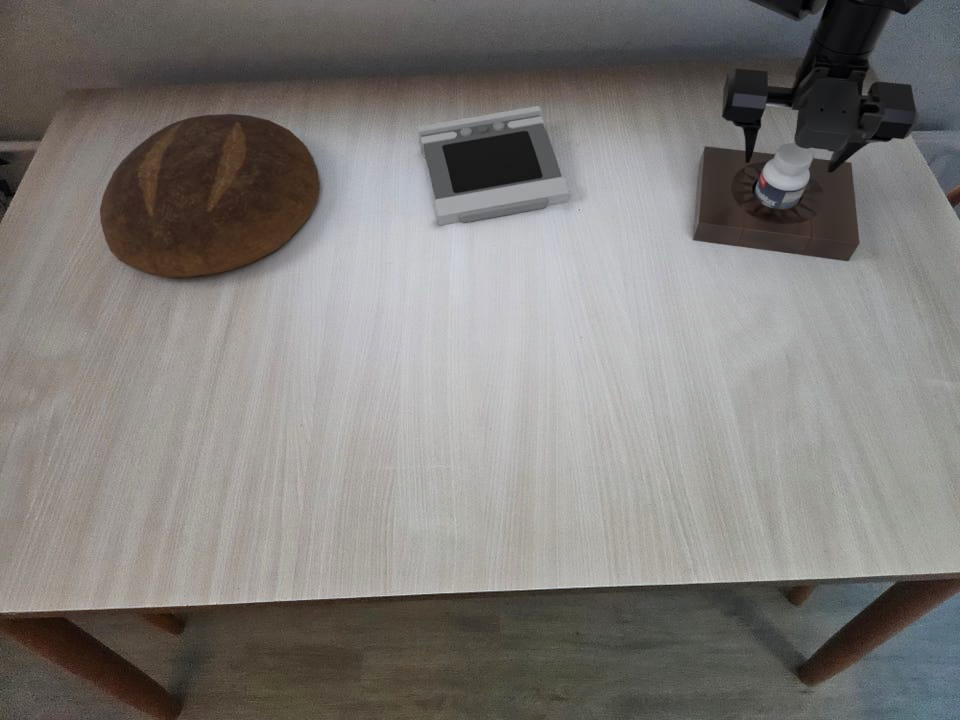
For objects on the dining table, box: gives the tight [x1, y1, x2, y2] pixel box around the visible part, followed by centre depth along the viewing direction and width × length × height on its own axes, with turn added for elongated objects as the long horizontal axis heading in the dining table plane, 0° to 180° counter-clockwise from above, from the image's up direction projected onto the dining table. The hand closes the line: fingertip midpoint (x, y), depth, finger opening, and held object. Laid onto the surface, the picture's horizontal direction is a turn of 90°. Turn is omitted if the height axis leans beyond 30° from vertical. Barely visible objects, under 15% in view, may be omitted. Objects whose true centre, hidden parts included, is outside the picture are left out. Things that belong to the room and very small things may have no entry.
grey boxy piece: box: [417, 105, 571, 226], centre depth 86 cm, size 17×5×16 cm
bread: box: [99, 113, 321, 278], centre depth 83 cm, size 28×27×9 cm
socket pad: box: [692, 145, 860, 262], centre depth 80 cm, size 18×14×3 cm
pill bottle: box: [753, 142, 814, 209], centre depth 77 cm, size 5×5×9 cm
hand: (787, 165), depth 75 cm, fingers open, 9 cm apart
